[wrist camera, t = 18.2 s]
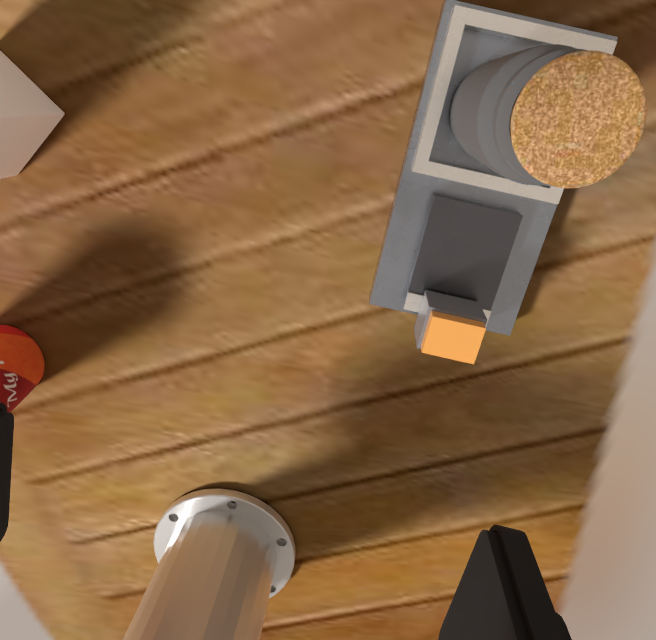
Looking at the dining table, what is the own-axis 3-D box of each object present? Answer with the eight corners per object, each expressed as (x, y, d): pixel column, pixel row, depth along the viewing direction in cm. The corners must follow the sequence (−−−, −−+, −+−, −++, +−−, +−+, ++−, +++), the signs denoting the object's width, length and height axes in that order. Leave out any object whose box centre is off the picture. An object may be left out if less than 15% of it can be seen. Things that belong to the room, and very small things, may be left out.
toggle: (466, 340, 38) (476, 367, 34) (413, 328, 38) (417, 354, 34) (478, 302, 37) (490, 326, 33) (425, 289, 37) (430, 312, 33)
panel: (504, 324, 41) (514, 344, 38) (369, 294, 41) (368, 311, 38) (605, 40, 34) (628, 34, 31) (442, 3, 34) (449, -7, 31)
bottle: (564, 74, 33) (696, 58, 19) (525, 173, 36) (619, 222, 22) (468, 46, 33) (533, 9, 19) (435, 147, 35) (471, 179, 21)
